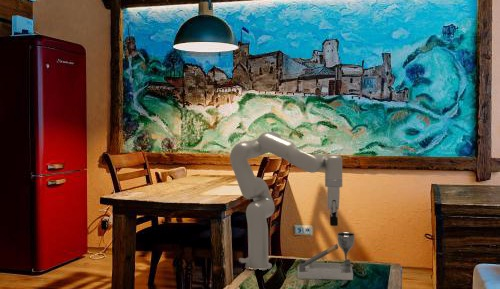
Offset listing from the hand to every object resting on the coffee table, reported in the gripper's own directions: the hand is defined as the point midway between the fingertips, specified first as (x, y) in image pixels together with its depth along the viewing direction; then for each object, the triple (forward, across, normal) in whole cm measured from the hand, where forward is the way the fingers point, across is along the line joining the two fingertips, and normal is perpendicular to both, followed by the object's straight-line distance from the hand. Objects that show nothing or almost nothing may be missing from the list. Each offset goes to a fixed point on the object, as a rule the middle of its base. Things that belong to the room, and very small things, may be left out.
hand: (333, 224), depth 242 cm
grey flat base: (+23, 0, -4) cm, 24 cm away
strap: (+15, 0, -6) cm, 16 cm away
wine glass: (+23, -18, +6) cm, 30 cm away
